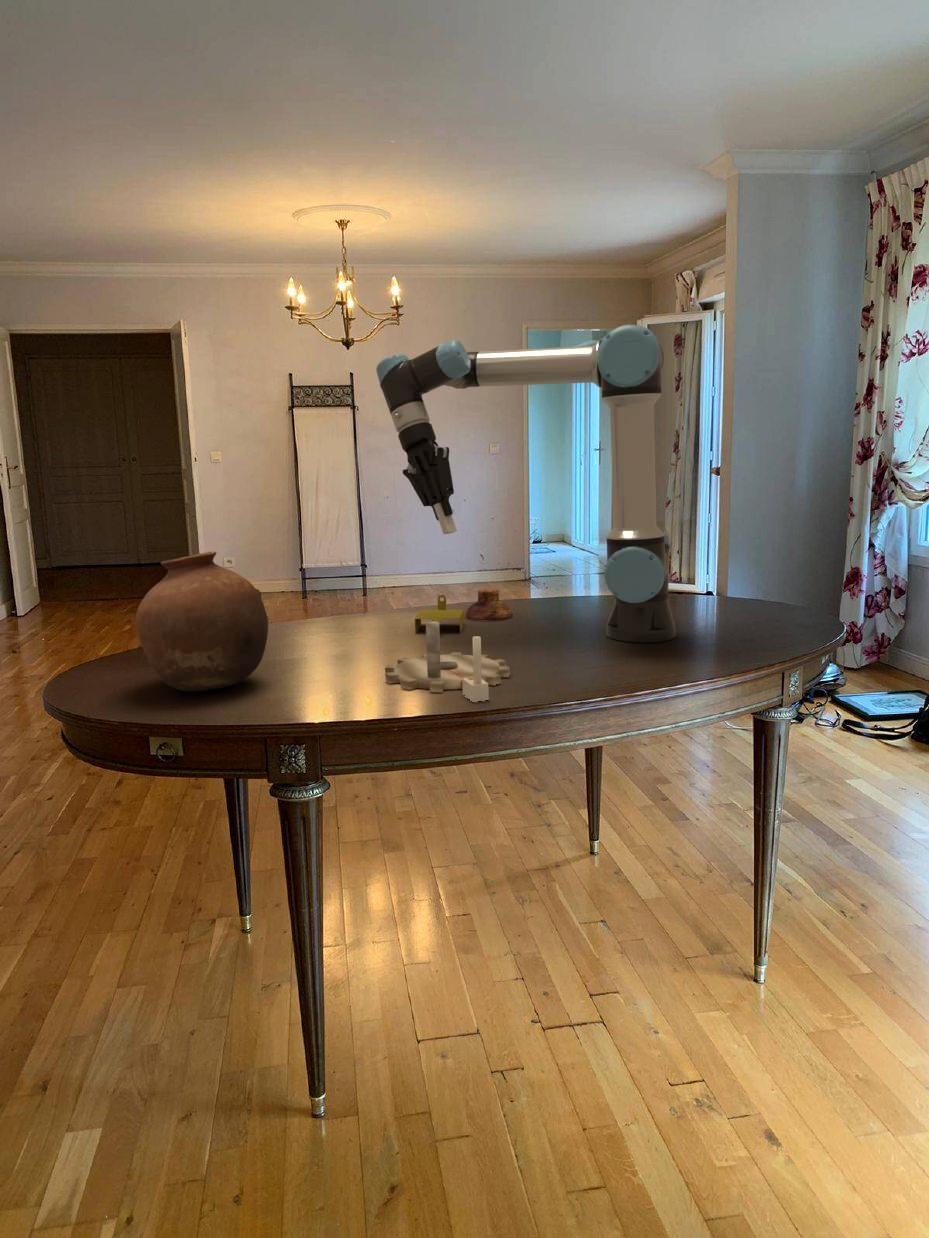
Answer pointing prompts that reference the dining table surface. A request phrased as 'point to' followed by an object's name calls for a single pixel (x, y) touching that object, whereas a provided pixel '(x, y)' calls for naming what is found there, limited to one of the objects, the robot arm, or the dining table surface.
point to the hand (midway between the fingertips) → (450, 532)
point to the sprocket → (442, 667)
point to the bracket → (439, 614)
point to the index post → (476, 677)
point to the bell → (488, 607)
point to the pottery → (202, 625)
